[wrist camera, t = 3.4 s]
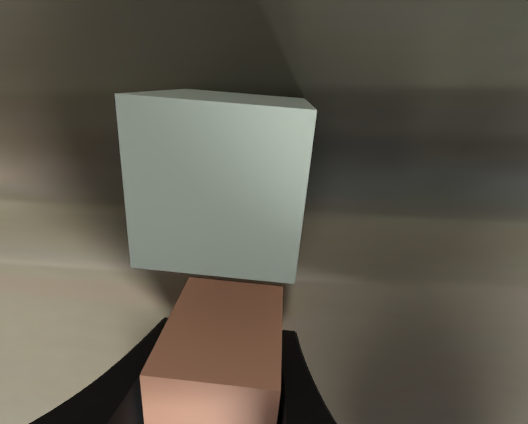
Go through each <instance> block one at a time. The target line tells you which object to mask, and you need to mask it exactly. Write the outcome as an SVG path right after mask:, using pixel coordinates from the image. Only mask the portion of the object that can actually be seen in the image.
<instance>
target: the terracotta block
mask: <svg viewBox="0 0 528 424" xmlns="http://www.w3.org/2000/svg"><path fill="white" fill-rule="evenodd" d="M282 315H283V286H273V285H263V284H253V283H243V282H234V281H224V280H214V279H204V278H194V277H189V278H188V280H187V282H186V284H185V286H184V288H183V290H182V292H181V294H180V296H179V298H178V300H177V302H176V304H175V306H174V308H173V310H172V312H171V314H170V316H169V318H168V320H167V322H166V324H165V326H164V328H163V330H162V332H161V334H160V336H159V338H158V340H157V342H156V344H155V346H154V348H153V350H152V352H151V354H150V356H149V358H148V360H147V361H146V363H145V365H144V367H143V369H142V371H141V373H140V385H141V396H142V406H143V417H144V424H277V417H278V409H279V401H280V394H281V360H282Z"/></svg>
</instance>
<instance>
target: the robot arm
mask: <svg viewBox="0 0 528 424" xmlns="http://www.w3.org/2000/svg"><path fill="white" fill-rule="evenodd" d="M167 320H168V318H164V319H162V320H161V321H160V322H159V323H158V324H157V325H156V326H155V328H154V329H153V330H152V331H151V332H150V333H149V334H148V335H146V336H145V337H144V338H143V339H142V340H141V341H140V342H139V343H138V344H137V345H136V346H135V347H134V348H133V349H132V350H131V351H130V352H129V353H127V354H126V355H125V356H124V357H123V358H122V359H121V360H119V361H118V362H117V363H116V364H115V365H114V366H112V367H111V368H110V369H109V370H108V371H107V372H105V373H104V374H103V375H102V376H100V377H99V378H98V379H96V380H95V381H94V382H93V383H91V384H90V385H88V386H87V387H86V388H84V389H83V390H82V391H80V392H79V393H77V394H76V395H74V396H73V397H71V398H70V399H68V400H67V401H65V402H64V403H62V404H61V405H59V406H58V407H56V408H55V409H53V410H52V411H50V412H48V413H47V414H45V415H43V416H41V417H40V418H38V419H36V420H35V421H33V422H31V423H29V424H144V417H143V406H142V396H141V385H140V373H141V371H142V369H143V367H144V365H145V363H146V361H147V360H148V358H149V356H150V354H151V352H152V350H153V348H154V346H155V344H156V342H157V340H158V338H159V336H160V334H161V332H162V330H163V328H164V326H165V324H166V322H167ZM277 424H337V423H336V422H335V420H334V418H333V417H332V415H331V413H330V412H329V410H328V408H327V406H326V405H325V403H324V401H323V399H322V397H321V395H320V393H319V391H318V389H317V387H316V385H315V383H314V380H313V378H312V376H311V374H310V371H309V369H308V367H307V364H306V362H305V359H304V356H303V353H302V350H301V347H300V344H299V340H298V336H297V333H296V332H295V331H287V330H282V360H281V394H280V401H279V409H278V417H277Z"/></svg>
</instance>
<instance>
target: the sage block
mask: <svg viewBox="0 0 528 424" xmlns="http://www.w3.org/2000/svg"><path fill="white" fill-rule="evenodd" d="M115 104H116V114H117V125H118V136H119V147H120V157H121V168H122V179H123V190H124V201H125V211H126V222H127V233H128V244H129V254H130V265H131V268H139V269H149V270H159V271H169V272H179V273H189V274H199V275H209V276H219V277H229V278H239V279H249V280H259V281H269V282H279V283H289V284H295V278H296V270H297V262H298V254H299V247H300V239H301V231H302V223H303V216H304V208H305V200H306V192H307V185H308V177H309V169H310V161H311V154H312V146H313V138H314V130H315V123H316V115H317V109H315V108H314V107H313V106H312V105H311V104H310V103H309V102H308V101H307V100H306V99H305V98H294V97H282V96H269V95H257V94H245V93H232V92H220V91H207V90H195V89H176V90H160V91H145V92H129V93H115Z"/></svg>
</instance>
